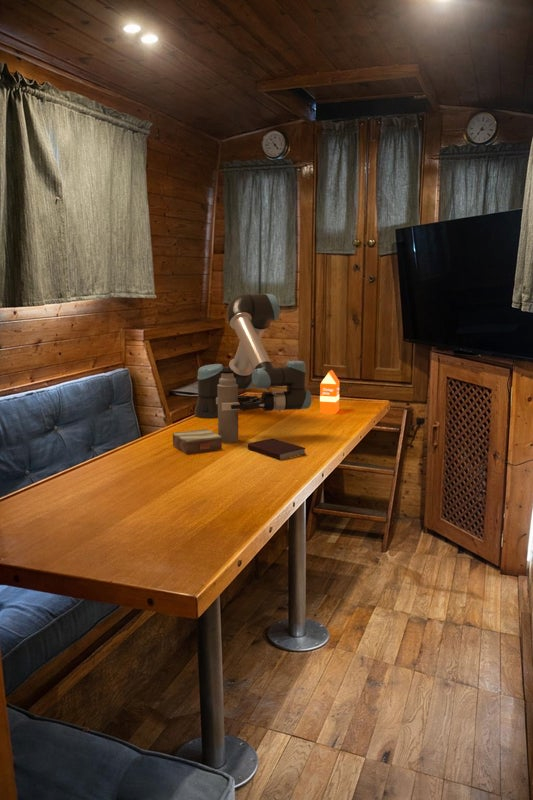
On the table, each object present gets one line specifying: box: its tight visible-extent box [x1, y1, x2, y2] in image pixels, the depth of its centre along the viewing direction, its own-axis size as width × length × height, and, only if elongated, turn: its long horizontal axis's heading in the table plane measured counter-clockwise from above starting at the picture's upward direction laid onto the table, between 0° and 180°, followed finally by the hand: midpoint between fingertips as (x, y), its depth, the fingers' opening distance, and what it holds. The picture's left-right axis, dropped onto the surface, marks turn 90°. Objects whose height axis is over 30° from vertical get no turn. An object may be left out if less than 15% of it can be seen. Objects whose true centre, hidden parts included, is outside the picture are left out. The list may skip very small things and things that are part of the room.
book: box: [247, 438, 306, 461], centre depth 240 cm, size 12×19×3 cm, turn 37°
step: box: [172, 428, 223, 455], centre depth 246 cm, size 15×14×5 cm
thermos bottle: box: [217, 370, 239, 444], centre depth 254 cm, size 8×8×28 cm
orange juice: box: [319, 369, 340, 415], centre depth 309 cm, size 8×9×20 cm
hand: (219, 403), depth 253 cm, fingers open, 12 cm apart
